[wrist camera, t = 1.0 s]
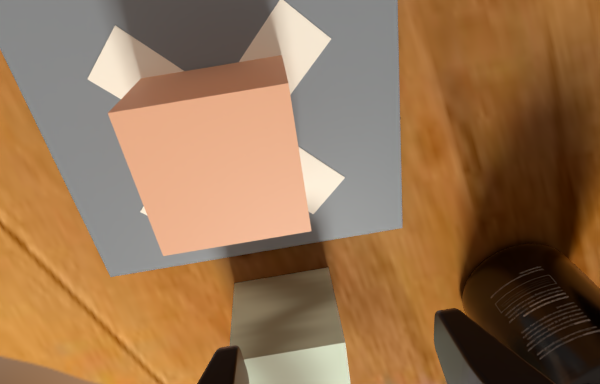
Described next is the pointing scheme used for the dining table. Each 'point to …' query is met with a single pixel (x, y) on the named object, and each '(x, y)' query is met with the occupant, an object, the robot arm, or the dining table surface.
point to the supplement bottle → (539, 310)
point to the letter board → (201, 54)
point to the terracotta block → (215, 155)
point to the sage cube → (290, 329)
